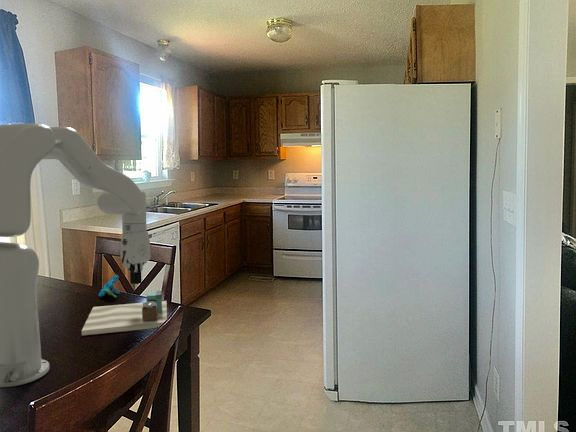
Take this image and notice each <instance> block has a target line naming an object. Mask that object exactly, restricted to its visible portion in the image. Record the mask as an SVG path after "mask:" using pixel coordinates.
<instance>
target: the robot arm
mask: <svg viewBox="0 0 576 432" xmlns="http://www.w3.org/2000/svg"><path fill="white" fill-rule="evenodd" d="M42 160H56V161H57V160H58V161H59V162H60V163H61V165H62V166H64V168H65V169H66V170H67V171H68V172H69V173H71V175H72V176H73V177H74V178H75V180H77V181H78V182H79V183H80V184H83V185H85V186H87V187H90V188H93V189H96V190H100V191H103V192H102V193H101V194H100V195H99V196H98V198H97V208H98V209H99V210H100V211H101V212H102V213H104V214H107V215H115V216H116V215H117V216H118V215H119V216H121V229H122V231H121V232H122V233H121V238H120V252H119V253H120V262H121V263H122V269H127V270H128V272H129V275H130V277H129V278H130V284H132V285H140V284H141V283H142V271H143V269H144V265H146V264H147V263H148V262H149V261H150V260H151V258H152V257H151V256H152V254H151V253H152V252H151V242H150V236H149V235H150V234H149V231H147V195H146V193H145V192H144V191H143V190H142V189H140V188H139V186H138V185H137V184H136V183H135V182H134V181H133V179H132V178H130V177H129V176H127V175H126V174H124V173H123V172H121V171H119V170H117V169H116V168H113V167H112V166H110V165H108V164H106V163H105V162H104V161H103V160H102V159H101V158H100V156H98V154H97V153H96V152H95V151H94V150H93V148H92V147H91V145H90V144H89V143H88V142H87V141H86V140H85V139H84V138H83V136H82V135H81V134H80V133H79V132H78V131H77V130H76V129H75V128H72V127H68V126H48V125H46V124H42V123H35V122H34V123H31V122H30V123H15V124H0V237H1V238H12V237H13V238H15V237H21V236H22V235H24V234H26V233H27V232H28V230H29V229H30V226H31V222H32V221H31V219H32V209H31V208H32V206H31V204H32V203H31V202H32V201H31V200H32V198H31V181H32V180H31V179H32V175H33V172H34V170H35V168H36V167H37V166H38V164H39V163H40V162H41V161H42ZM39 268H40V260H39V257H38V255H37V252H35V250H34V249H33V248H31V247H30V246H28V245H27V244H26V245H25V244H23V243H17V242H3V241H0V388H11V387H17V386H22V385H25V384H28V383H31V382H34V381H36V380H39V379H40V378H42V377H43V376H45V375H46V374H47V373H48V372H49V370H50V362H49V361H48V360H46V359H43V358H42V349H41V337H40V336H41V335H40V321H39V309H38V298H37V297H38V295H37V288H38V287H37V286H38V285H37V284H38V276H39Z"/></svg>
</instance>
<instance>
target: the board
mask: <svg viewBox="0 0 576 432" xmlns="http://www.w3.org/2000/svg"><path fill="white" fill-rule="evenodd" d="M143 303H144V302H138V303H137V302H136V303H135V302H134V303H125V304H113V305H103V306H102V305H101V306H93V307H92V309H91V311H90V313H89V314H88V317H87V319H86V321H85V323H84V324H83V327H82V329H81V336H89V335H90V336H91V335H100V334H109V333H119V332H121V333H122V332H129V331H140V330H148V329H150V330H151V329H157V327H159V326H160V325H161V324H162V323H164V322H165V321H166V320H167V321H168V307H167V306H168V305H167V300H162V313H158V316H157V319H156V320H144V321H143V319H142V308H143Z"/></svg>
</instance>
